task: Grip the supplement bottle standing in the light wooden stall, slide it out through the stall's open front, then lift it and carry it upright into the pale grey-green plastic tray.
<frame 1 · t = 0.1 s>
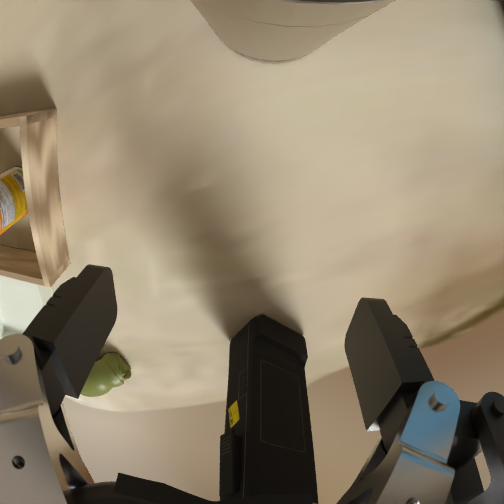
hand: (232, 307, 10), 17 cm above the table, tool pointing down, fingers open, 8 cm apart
supplement bottle: (21, 189, 25), on the table
wooden stall: (14, 189, 25), on the table
plastic tray: (22, 305, 33), on the table
portable radio: (263, 337, 34), on the table
pear: (105, 362, 38), on the table
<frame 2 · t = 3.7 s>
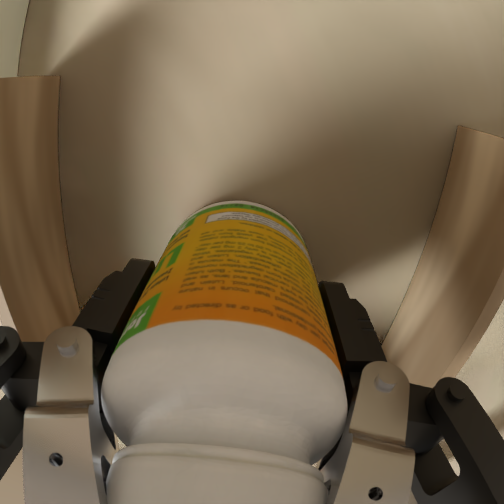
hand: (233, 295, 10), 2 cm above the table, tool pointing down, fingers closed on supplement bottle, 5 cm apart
supplement bottle: (238, 261, 12), on the table, touching gripper
wooden stall: (240, 241, 11), on the table
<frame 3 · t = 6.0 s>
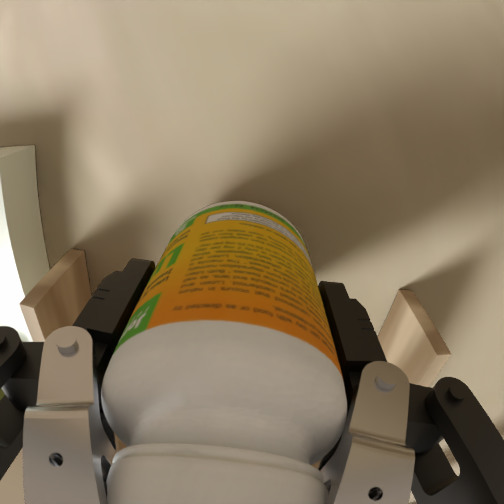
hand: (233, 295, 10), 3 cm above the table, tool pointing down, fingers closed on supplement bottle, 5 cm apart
supplement bottle: (238, 262, 12), point 1 cm above the table, touching gripper
wooden stall: (230, 365, 16), on the table
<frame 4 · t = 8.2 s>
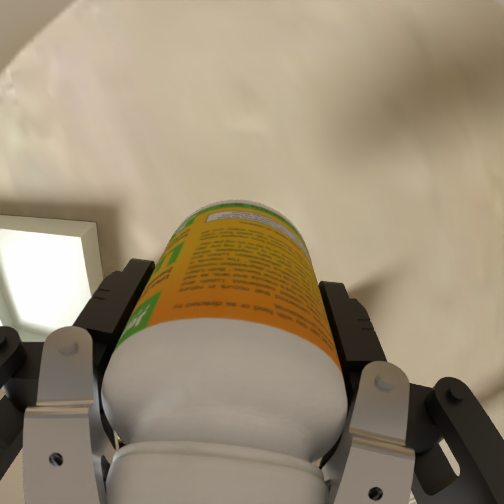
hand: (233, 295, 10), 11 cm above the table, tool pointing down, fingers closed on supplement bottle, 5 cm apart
supplement bottle: (238, 261, 12), point 9 cm above the table, touching gripper
plastic tray: (43, 287, 23), on the table
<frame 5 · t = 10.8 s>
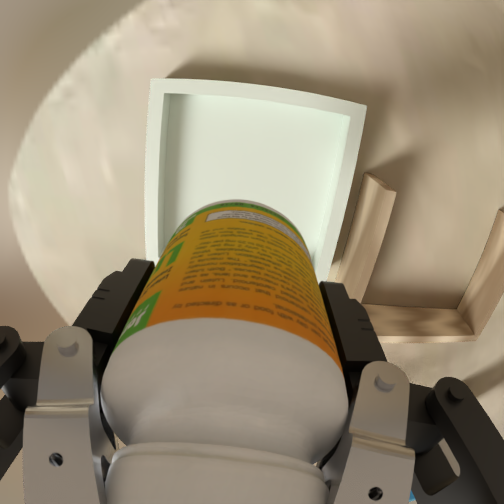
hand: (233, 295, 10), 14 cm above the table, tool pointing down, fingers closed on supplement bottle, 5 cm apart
supplement bottle: (238, 260, 12), point 12 cm above the table, touching gripper
wooden stall: (426, 254, 25), on the table
plastic tray: (247, 179, 22), on the table
when the fingers open (4 cm above the table, at t = 12.9 s): supplement bottle drops 1 cm, resting on plastic tray.
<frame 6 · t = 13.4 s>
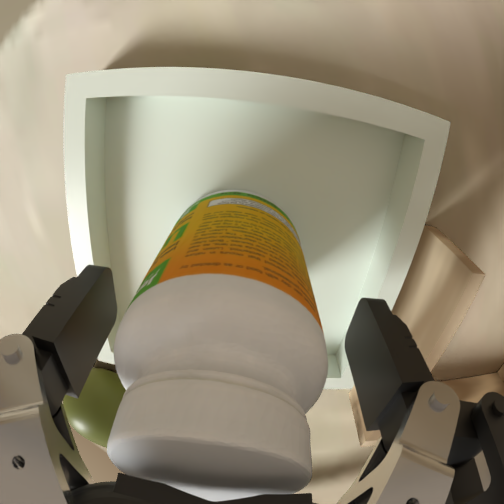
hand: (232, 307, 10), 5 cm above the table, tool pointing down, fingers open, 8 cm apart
supplement bottle: (235, 245, 13), point 1 cm above the table, touching plastic tray
wooden stall: (480, 323, 16), on the table
plastic tray: (239, 239, 14), on the table
pear: (131, 395, 21), on the table
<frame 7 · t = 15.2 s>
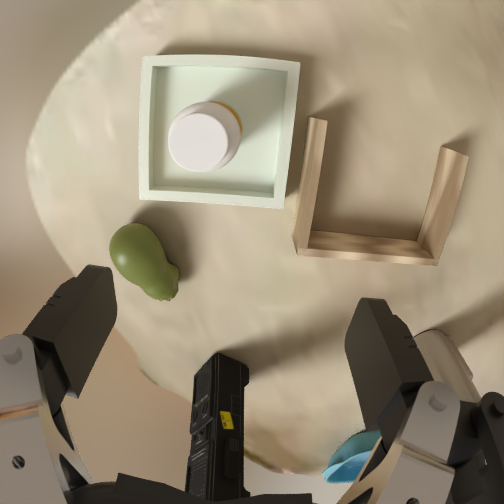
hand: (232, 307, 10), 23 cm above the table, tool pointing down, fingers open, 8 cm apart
casserole dish: (388, 441, 60), on the table
supplement bottle: (214, 128, 27), point 1 cm above the table, touching plastic tray
wooden stall: (375, 184, 31), on the table
plastic tray: (216, 127, 28), on the table
portable radio: (222, 367, 44), on the table
pear: (152, 254, 35), on the table
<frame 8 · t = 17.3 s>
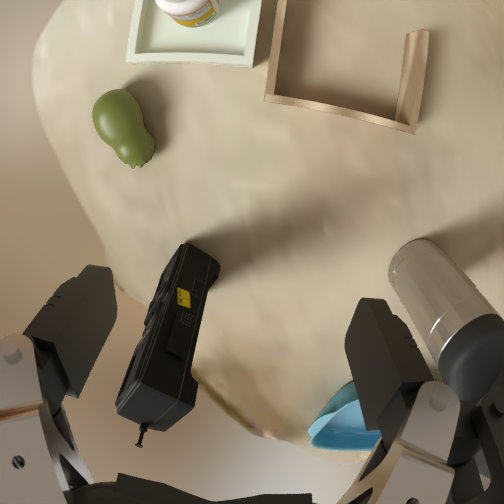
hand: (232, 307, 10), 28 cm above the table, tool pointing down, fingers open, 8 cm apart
casserole dish: (382, 403, 58), on the table
supplement bottle: (196, 9, 26), point 1 cm above the table, touching plastic tray
wooden stall: (343, 59, 29), on the table
plastic tray: (198, 10, 26), on the table
portable radio: (192, 265, 42), on the table
pear: (132, 127, 33), on the table
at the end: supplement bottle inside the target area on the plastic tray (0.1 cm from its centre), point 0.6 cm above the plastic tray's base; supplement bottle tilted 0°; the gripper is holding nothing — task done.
